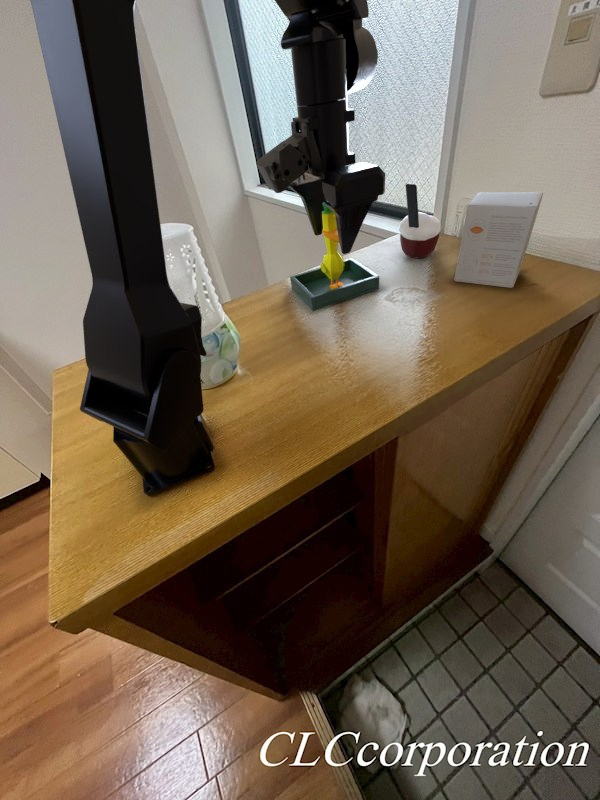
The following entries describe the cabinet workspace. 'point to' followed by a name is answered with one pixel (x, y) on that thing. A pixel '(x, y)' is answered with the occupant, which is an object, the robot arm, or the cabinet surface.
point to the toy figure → (331, 249)
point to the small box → (496, 237)
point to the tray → (317, 283)
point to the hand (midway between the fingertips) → (331, 243)
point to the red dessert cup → (418, 228)
